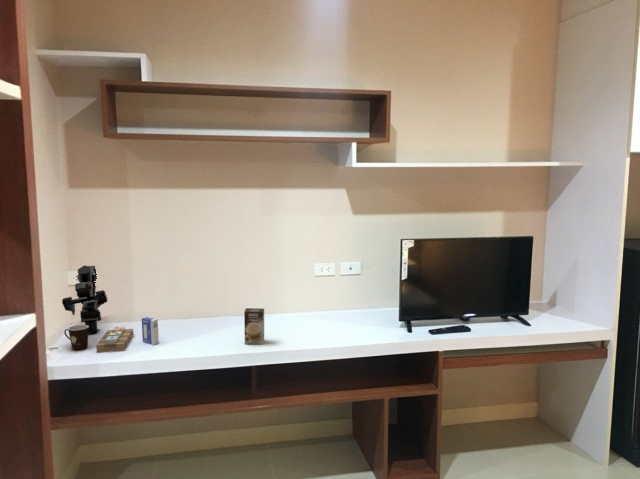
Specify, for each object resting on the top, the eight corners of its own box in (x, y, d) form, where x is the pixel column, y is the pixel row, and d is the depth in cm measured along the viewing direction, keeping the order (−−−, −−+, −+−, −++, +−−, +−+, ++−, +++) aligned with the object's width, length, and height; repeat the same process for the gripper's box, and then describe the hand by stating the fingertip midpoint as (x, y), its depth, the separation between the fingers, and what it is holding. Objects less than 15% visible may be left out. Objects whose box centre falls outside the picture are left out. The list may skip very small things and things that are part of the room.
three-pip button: (111, 337, 247) (111, 331, 246) (122, 337, 247) (121, 330, 247) (109, 341, 242) (108, 334, 241) (120, 340, 243) (119, 333, 242)
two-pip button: (114, 333, 253) (114, 327, 253) (125, 332, 254) (124, 326, 254) (112, 336, 249) (112, 329, 248) (123, 335, 249) (122, 329, 249)
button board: (108, 336, 255) (107, 330, 254) (133, 335, 257) (133, 328, 256) (96, 352, 233) (96, 345, 232) (124, 350, 235) (124, 343, 234)
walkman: (142, 342, 247) (141, 317, 246) (147, 340, 250) (145, 316, 248) (154, 344, 243) (153, 320, 242) (158, 342, 246) (157, 318, 244)
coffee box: (244, 344, 243) (243, 311, 241) (246, 340, 249) (245, 308, 247) (263, 344, 243) (263, 311, 241) (265, 340, 249) (264, 308, 247)
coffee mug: (93, 348, 239) (92, 327, 237) (74, 353, 232) (72, 331, 231) (82, 342, 246) (81, 322, 245) (63, 347, 240) (62, 326, 239)
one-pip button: (108, 342, 240) (107, 336, 239) (119, 342, 240) (118, 335, 240) (105, 346, 235) (105, 339, 235) (116, 345, 236) (116, 338, 235)
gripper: (59, 281, 240) (56, 303, 228) (101, 273, 244) (100, 294, 232) (67, 299, 246) (64, 321, 234) (108, 291, 251) (107, 312, 238)
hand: (84, 312), depth 235 cm, fingers open, 9 cm apart
